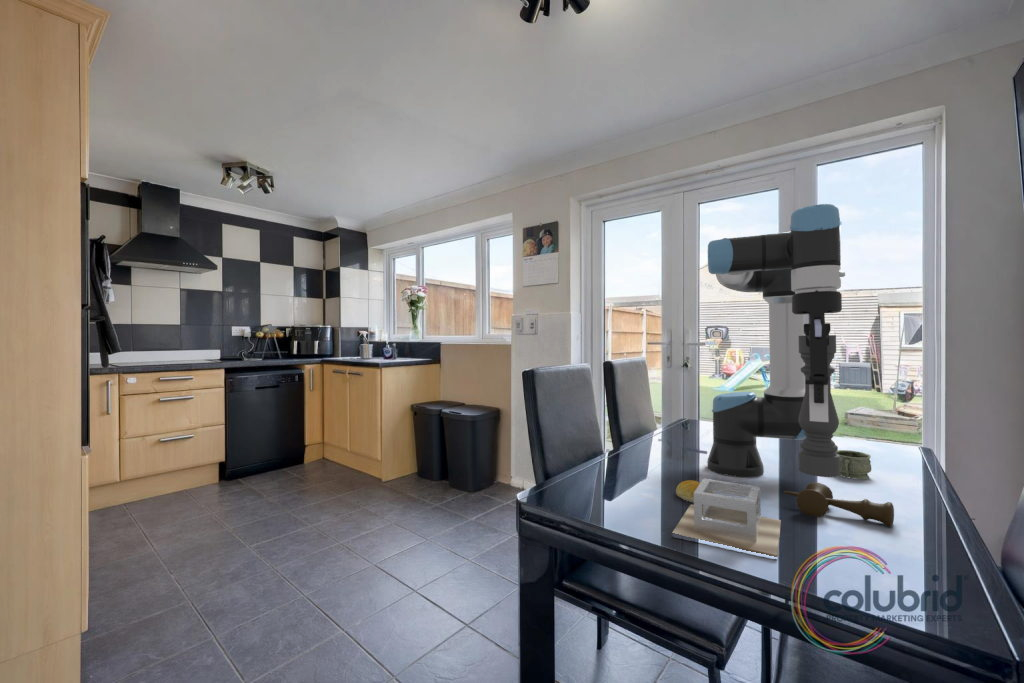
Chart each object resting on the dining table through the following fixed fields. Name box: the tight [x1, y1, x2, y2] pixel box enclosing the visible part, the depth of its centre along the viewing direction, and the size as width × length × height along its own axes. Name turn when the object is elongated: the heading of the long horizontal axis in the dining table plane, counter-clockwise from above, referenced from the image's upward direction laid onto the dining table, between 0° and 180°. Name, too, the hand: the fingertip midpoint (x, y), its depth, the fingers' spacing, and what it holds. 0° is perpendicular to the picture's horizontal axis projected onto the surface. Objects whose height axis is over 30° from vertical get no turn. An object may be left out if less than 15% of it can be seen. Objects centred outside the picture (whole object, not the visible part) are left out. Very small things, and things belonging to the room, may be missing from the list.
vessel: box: [835, 449, 872, 480], centre depth 127 cm, size 12×9×6 cm
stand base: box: [671, 504, 782, 557], centre depth 91 cm, size 18×18×1 cm
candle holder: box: [798, 334, 841, 478], centre depth 81 cm, size 6×6×25 cm
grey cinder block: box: [693, 478, 762, 543], centre depth 91 cm, size 11×11×8 cm
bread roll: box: [675, 479, 715, 504], centre depth 111 cm, size 8×9×4 cm
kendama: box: [783, 482, 895, 528], centre depth 99 cm, size 6×10×20 cm
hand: (818, 418), depth 81 cm, fingers closed on candle holder, 6 cm apart
